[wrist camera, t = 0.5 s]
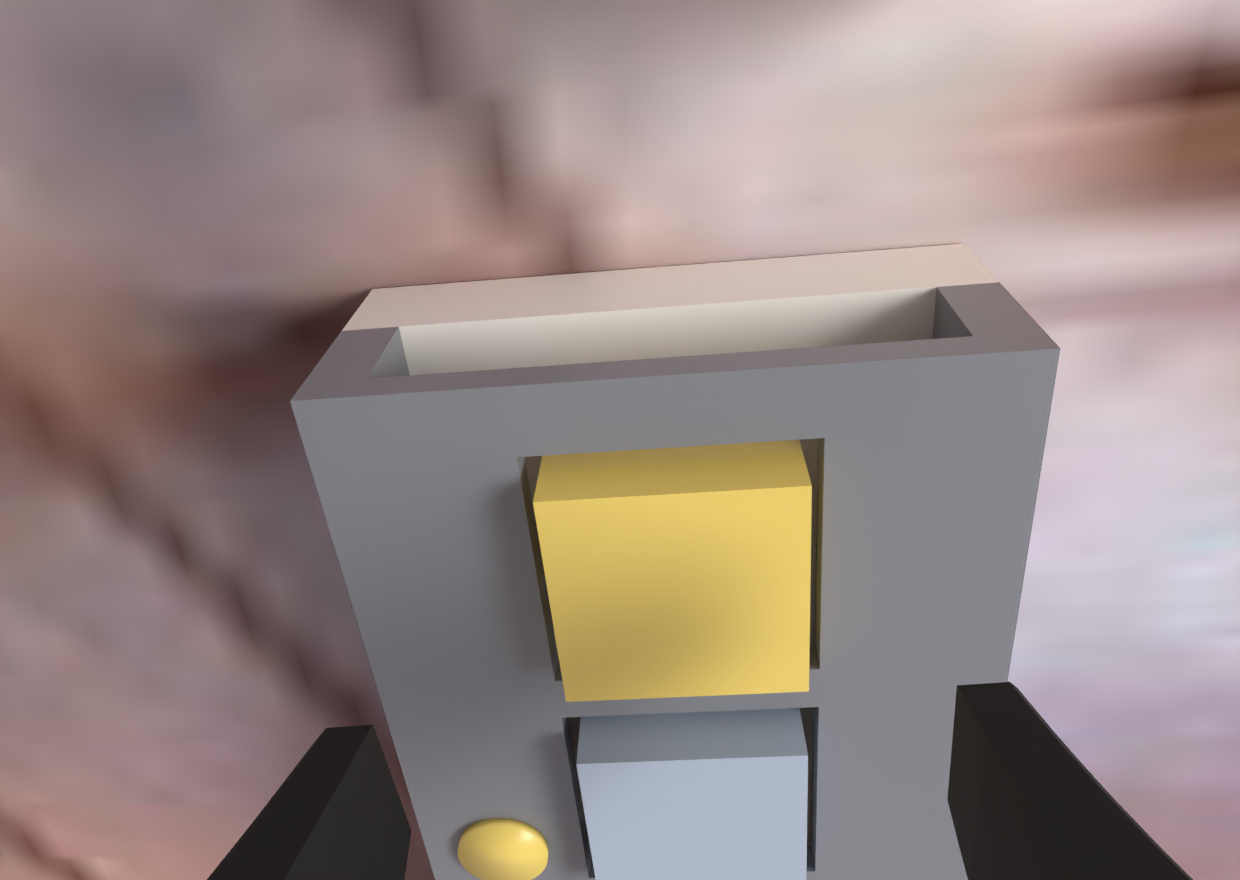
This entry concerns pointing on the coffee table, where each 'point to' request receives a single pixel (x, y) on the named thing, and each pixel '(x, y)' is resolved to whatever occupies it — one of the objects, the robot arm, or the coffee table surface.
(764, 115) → the coffee table surface
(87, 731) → the coffee table surface
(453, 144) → the coffee table surface
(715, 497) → the key
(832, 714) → the keypad
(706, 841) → the key
